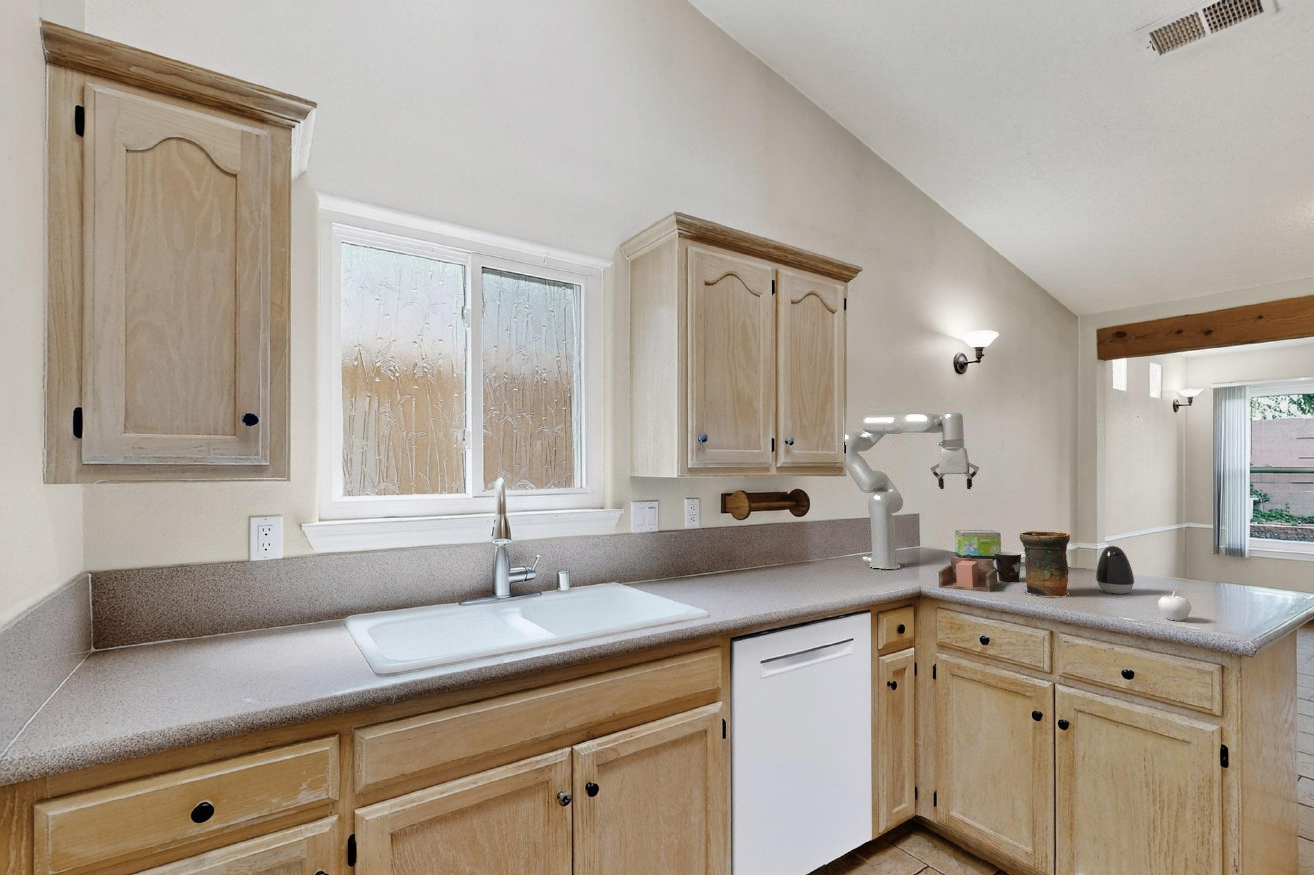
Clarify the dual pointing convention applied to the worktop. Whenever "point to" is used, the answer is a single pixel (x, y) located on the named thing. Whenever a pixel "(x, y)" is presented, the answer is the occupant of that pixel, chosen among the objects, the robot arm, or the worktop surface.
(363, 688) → the worktop surface
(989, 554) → the tea box
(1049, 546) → the vessel
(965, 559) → the stand
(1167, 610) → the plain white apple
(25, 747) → the worktop surface
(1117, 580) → the black rounded egg shape
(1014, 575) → the coffee mug
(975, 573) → the salmon pink block
